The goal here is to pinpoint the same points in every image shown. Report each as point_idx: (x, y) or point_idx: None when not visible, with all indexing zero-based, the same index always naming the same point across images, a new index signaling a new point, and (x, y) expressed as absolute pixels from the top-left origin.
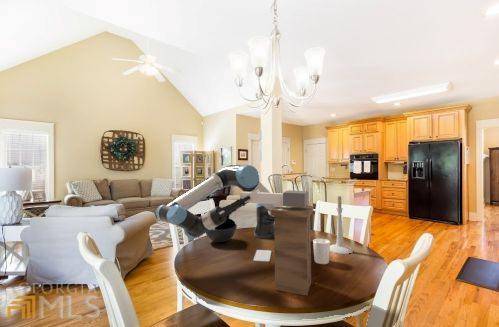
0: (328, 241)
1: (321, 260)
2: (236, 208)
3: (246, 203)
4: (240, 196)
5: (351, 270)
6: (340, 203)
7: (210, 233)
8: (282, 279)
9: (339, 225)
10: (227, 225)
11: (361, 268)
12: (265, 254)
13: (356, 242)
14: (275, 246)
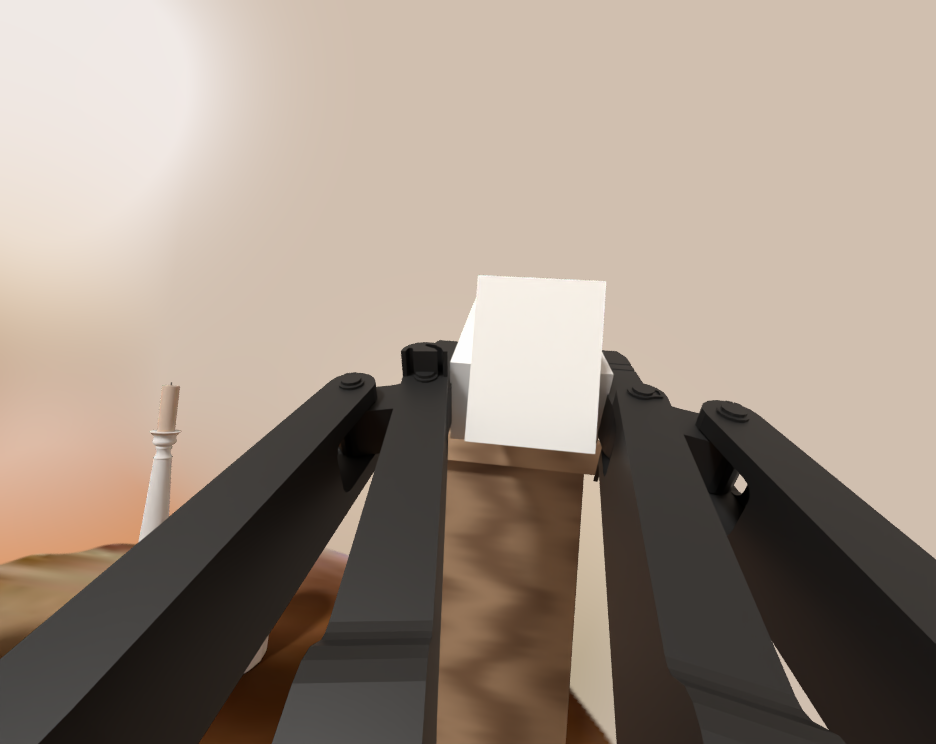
0: None
1: (263, 644)
2: (437, 687)
3: (366, 480)
4: (597, 356)
5: (336, 596)
6: (176, 411)
7: None
8: None
9: (165, 495)
10: None
11: (326, 577)
12: None
13: (109, 546)
14: (570, 649)
